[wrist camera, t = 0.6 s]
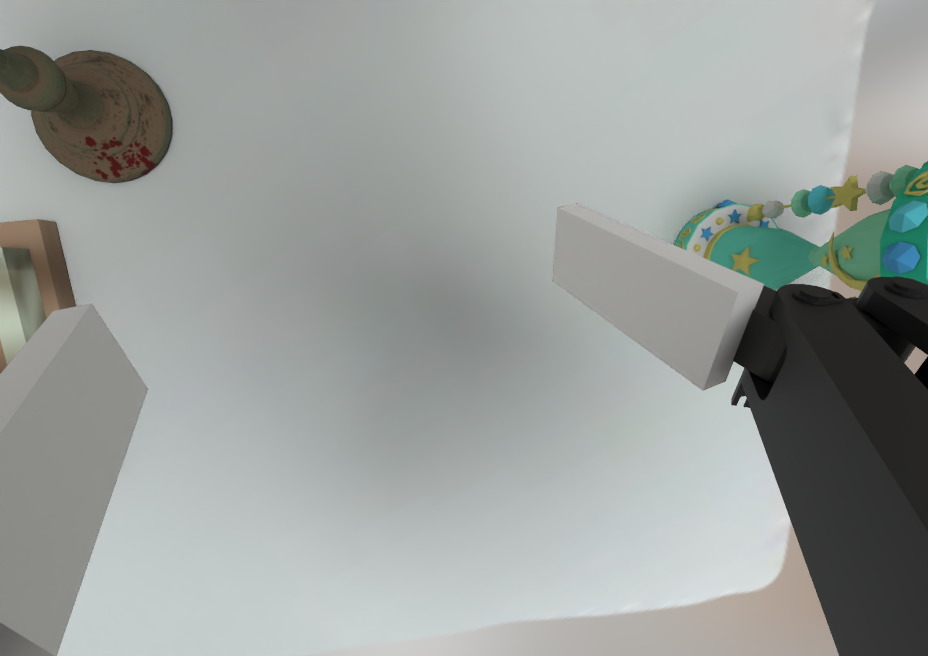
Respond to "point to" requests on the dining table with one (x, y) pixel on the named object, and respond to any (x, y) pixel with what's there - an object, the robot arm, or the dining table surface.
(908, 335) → the robot arm
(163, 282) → the dining table surface
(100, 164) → the candlestick holder
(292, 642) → the dining table surface
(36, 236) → the railed board
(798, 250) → the decorative hourglass
